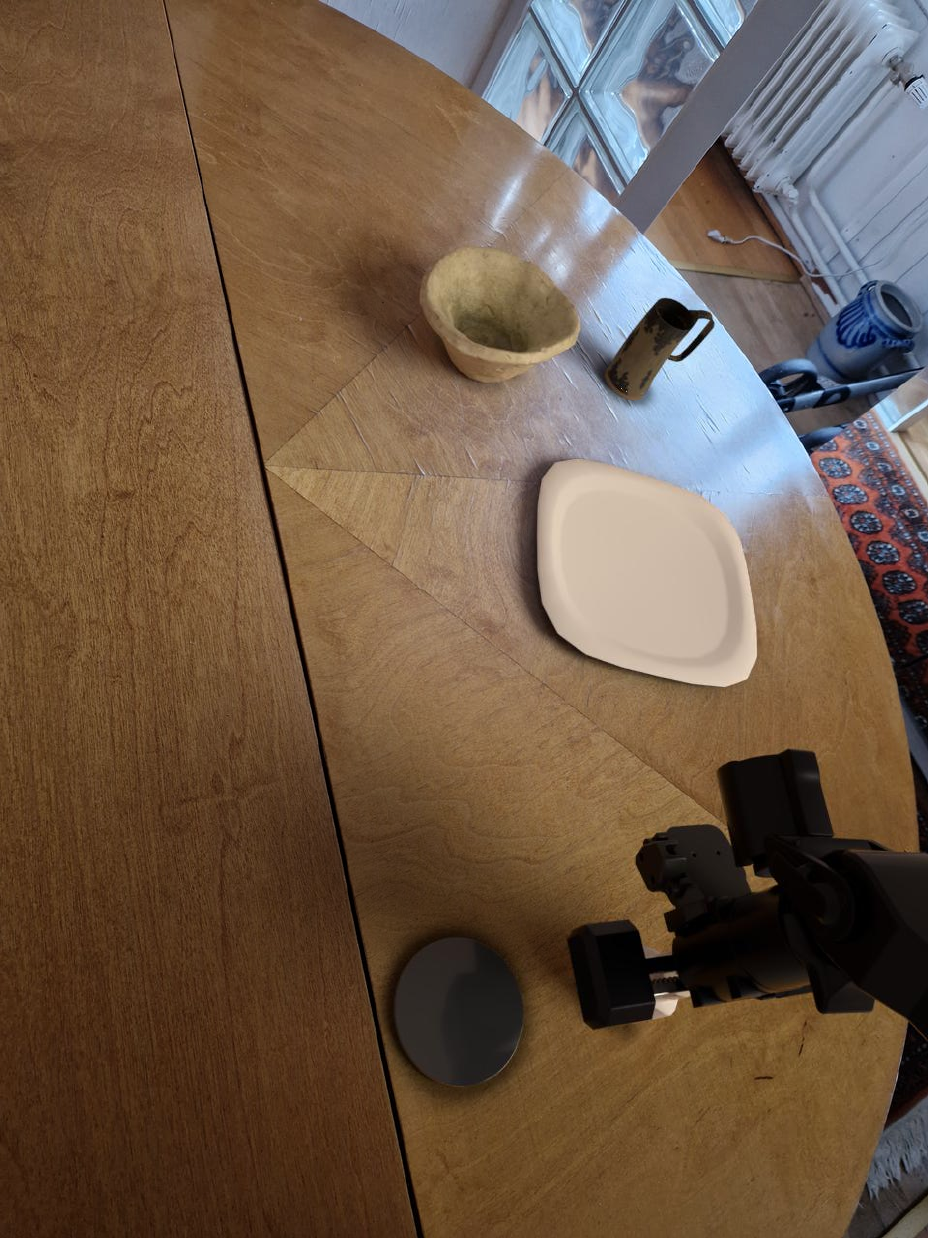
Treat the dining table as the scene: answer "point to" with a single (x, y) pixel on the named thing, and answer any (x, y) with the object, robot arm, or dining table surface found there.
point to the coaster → (458, 1012)
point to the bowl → (496, 312)
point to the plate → (644, 575)
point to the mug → (654, 346)
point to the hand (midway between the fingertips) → (638, 979)
